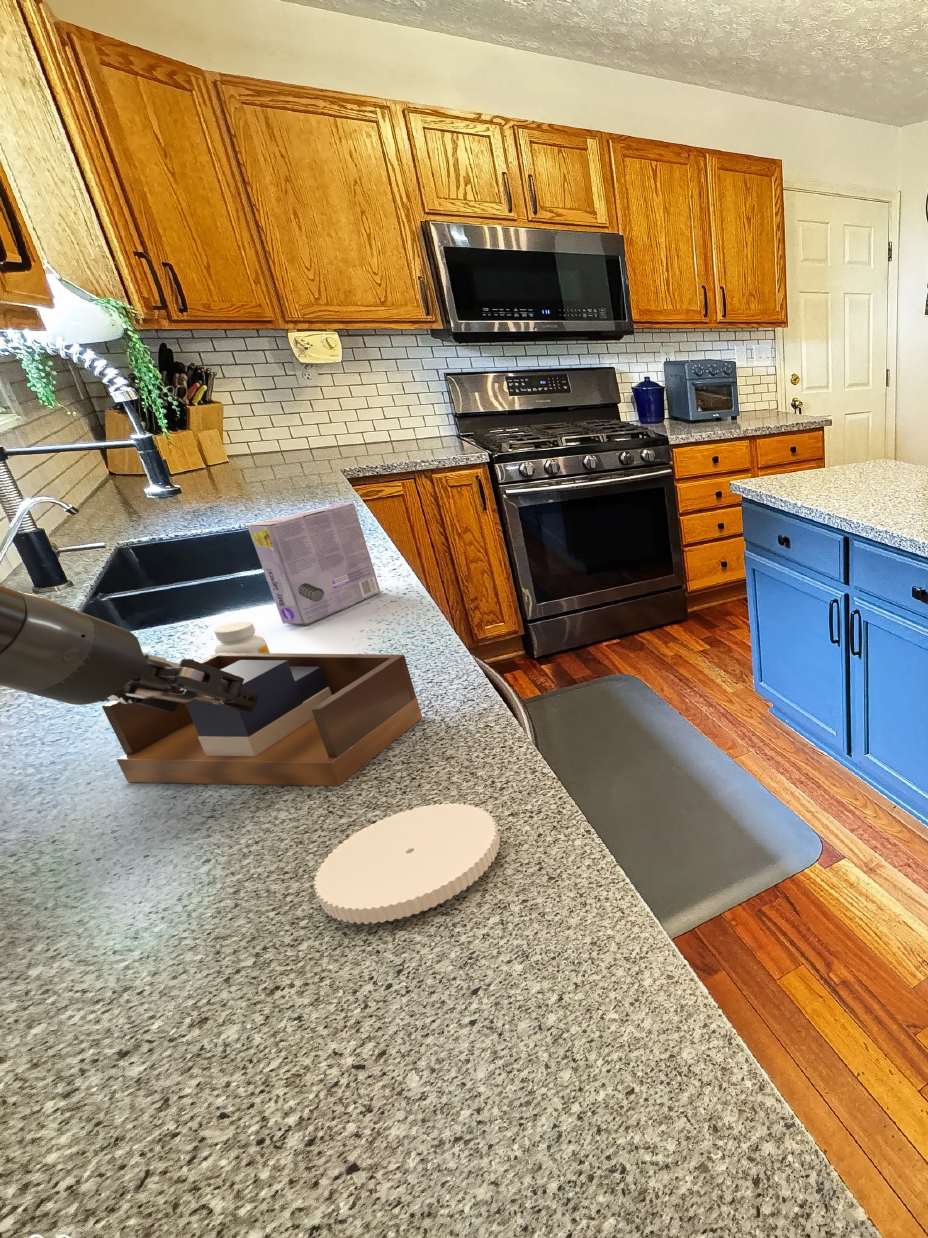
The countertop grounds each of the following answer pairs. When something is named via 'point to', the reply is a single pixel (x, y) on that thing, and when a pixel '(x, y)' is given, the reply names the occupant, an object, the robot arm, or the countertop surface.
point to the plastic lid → (407, 863)
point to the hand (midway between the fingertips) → (214, 703)
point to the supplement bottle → (239, 639)
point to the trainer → (260, 708)
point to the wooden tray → (311, 755)
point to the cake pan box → (315, 562)
